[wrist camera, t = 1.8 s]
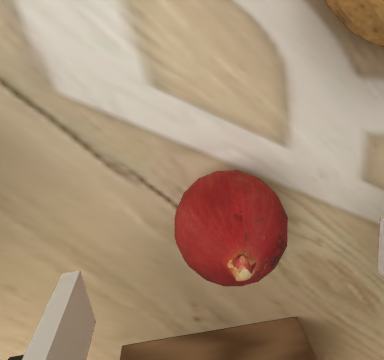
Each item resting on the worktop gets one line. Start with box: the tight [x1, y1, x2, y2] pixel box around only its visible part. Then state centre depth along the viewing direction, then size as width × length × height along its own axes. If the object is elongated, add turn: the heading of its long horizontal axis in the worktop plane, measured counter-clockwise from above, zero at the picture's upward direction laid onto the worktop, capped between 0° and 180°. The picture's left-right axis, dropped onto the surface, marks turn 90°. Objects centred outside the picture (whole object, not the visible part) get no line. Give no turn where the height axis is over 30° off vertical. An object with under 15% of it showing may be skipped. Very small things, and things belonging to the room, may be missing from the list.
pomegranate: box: [175, 170, 288, 286], centre depth 17 cm, size 6×6×8 cm
